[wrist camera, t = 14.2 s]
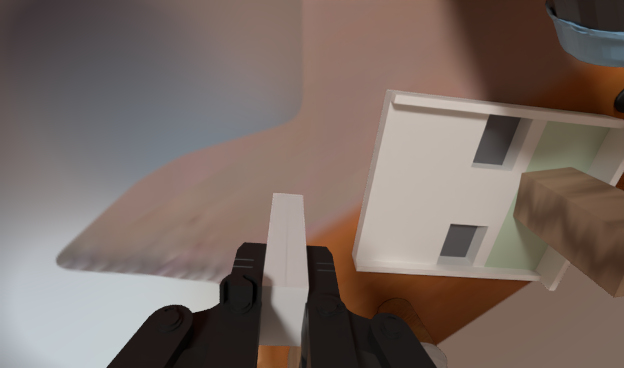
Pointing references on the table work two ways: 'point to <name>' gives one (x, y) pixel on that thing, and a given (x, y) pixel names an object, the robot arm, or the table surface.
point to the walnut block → (577, 221)
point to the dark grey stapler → (620, 102)
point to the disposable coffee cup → (415, 328)
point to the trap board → (471, 184)
